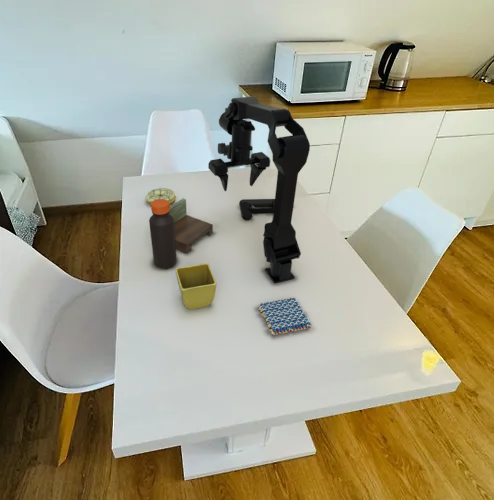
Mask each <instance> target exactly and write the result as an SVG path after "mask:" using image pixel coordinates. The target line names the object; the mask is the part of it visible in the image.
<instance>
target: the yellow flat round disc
mask: <svg viewBox="0 0 494 500" xmlns="http://www.w3.org/2000/svg"><path fill="white" fill-rule="evenodd" d="M145 198H146V202H147V204H148V205H149V206H151V202H152V201H154V200H157V199H165V200H167V201H169V206H171V205H173V204H174V201H175V199H176V193H175V191H174V190H173V189H170V188H167V187H160V188H155V189H151V190H150V191H148V192H147V194H145Z"/></svg>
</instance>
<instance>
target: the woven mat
mask: <svg viewBox="0 0 494 500" xmlns="http://www.w3.org/2000/svg"><path fill="white" fill-rule="evenodd" d="M299 304H300V302H299V301H298V299H296V298H295V297H290V298H287V299H286V298H284V299H281V300H280V299H278V300H276V301H274V300H273V301H270V302H269V301H267V302H264V303H263V302H261V303H260V304H259V307H258V311H260V312H261V317H263V318H264V319H265V321H266V322H267V323H266V325H267V327H268V328H269V330H268V332H269V333H271V334H272V335H274V336H275V335H278V336H279V335H281V334H286V333H289V332H290V333H292V332H297V331H301V330H305V329H311V327H312V324H311V321H310V318H309V317H307V314H306V313H305V311H304V310H303V308H302V306H301V305H299Z"/></svg>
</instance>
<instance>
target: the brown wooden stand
mask: <svg viewBox="0 0 494 500" xmlns="http://www.w3.org/2000/svg"><path fill="white" fill-rule="evenodd" d="M169 206H170V212H169V214H171V215H172V216H173V218H174V228H175V242H176V251H180V252H182V253H184V254H189V253H190V252H191V251H192V245H194V243H196V242H197V241H198V240H200V239H201V238H202V237H203V236H205V235H206V236H208V237H210V236H211V235H213V234H214V225H213V224H212V223H210V222H207V221H204V220H201V219H199V218H196V217H194V216H191V215H188V214H187V199H186V198H184V197H183V198H181V199H180V200H178V201H176V202H175V203H172V204H171V205H169Z"/></svg>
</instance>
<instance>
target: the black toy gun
mask: <svg viewBox="0 0 494 500" xmlns="http://www.w3.org/2000/svg"><path fill="white" fill-rule="evenodd" d="M274 203H275V198H243V199H242V198H241V200H240V201H239V202H238V205H239V208H240V214H241V218H242V220H244V221H250V220H252V219H253V217H254V215H271V214H272V215H273V212H274Z"/></svg>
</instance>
